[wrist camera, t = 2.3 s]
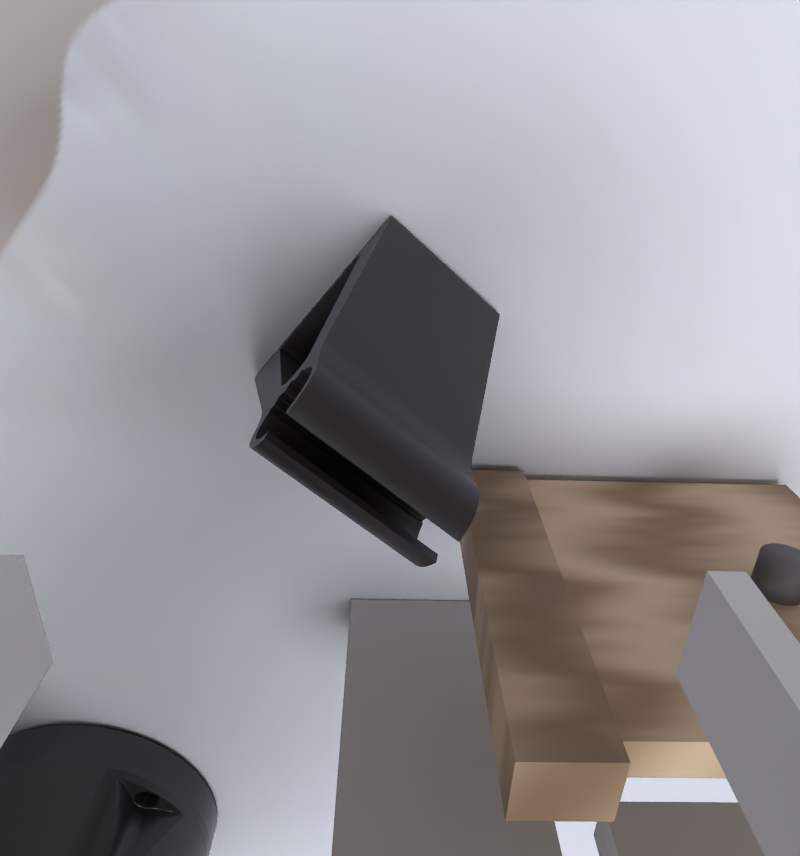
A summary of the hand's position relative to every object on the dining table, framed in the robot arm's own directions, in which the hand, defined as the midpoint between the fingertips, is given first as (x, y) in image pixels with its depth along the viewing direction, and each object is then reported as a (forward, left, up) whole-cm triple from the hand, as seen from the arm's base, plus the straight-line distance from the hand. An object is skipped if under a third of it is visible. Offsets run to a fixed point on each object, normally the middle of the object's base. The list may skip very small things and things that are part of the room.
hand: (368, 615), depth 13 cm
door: (+12, -7, -16) cm, 21 cm away
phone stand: (0, 0, -17) cm, 17 cm away
